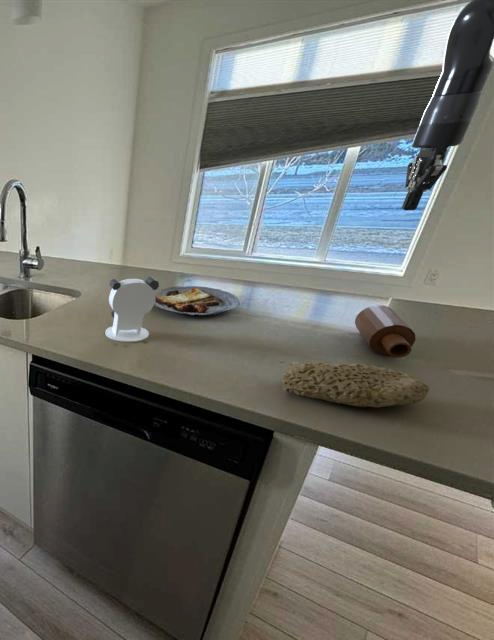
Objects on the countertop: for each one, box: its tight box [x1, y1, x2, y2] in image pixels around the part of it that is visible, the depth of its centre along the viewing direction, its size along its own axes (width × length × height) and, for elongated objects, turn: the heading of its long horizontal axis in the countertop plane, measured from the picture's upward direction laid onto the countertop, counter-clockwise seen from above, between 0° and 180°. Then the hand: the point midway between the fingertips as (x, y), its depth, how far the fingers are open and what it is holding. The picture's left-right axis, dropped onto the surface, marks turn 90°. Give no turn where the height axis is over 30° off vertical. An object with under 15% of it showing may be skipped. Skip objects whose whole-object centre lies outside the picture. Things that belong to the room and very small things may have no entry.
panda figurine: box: [104, 276, 160, 343], centre depth 107 cm, size 12×11×15 cm
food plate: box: [154, 285, 241, 317], centre depth 123 cm, size 25×23×4 cm
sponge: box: [281, 361, 430, 408], centre depth 75 cm, size 13×8×20 cm
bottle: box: [354, 304, 416, 359], centre depth 91 cm, size 7×7×18 cm
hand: (408, 209), depth 93 cm, fingers closed
